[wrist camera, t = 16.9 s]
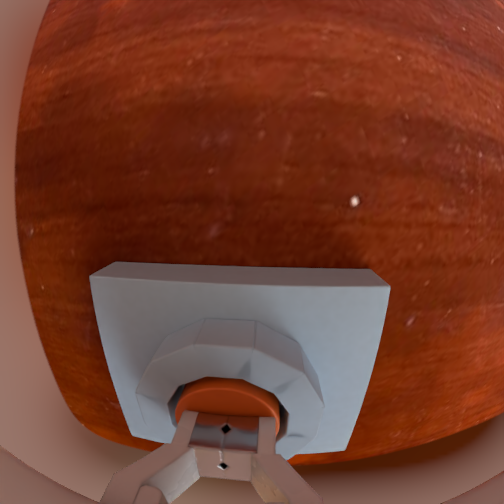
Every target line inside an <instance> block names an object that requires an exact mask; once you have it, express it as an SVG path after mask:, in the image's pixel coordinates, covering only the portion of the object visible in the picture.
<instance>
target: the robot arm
mask: <svg viewBox="0 0 504 504" xmlns="http://www.w3.org/2000/svg"><path fill="white" fill-rule="evenodd" d="M199 476H202V477H211V478H222V479H232V480H243V481H251V483H252V485H253V486H254V488H255V489H256V491H257V492H258V494H259V495H260V497H261V498H262V500H263V501H264V502H265V504H323V499H322V498H321V497H320V496H319V495H318V494H317V493H316V492H315V491H314V490H313V489H312V488H311V487H310V486H309V485H308V484H307V483H306V481H305V480H304V479H303V478H302V477H301V476H300V475H299V474H298V473H297V472H296V471H295V470H294V469H293V468H292V467H291V465H290V464H289V463H288V462H287V461H286V460H285V459H284V458H283V457H282V455H281V454H276V429H275V417H255V416H234V415H220V414H212V413H204V412H196V411H190V410H184V412H183V413H182V415H181V418H180V420H179V423H178V426H177V428H176V431H175V434H174V436H173V439H172V442H171V444H170V443H166V444H164V445H162V446H161V447H159V448H158V449H156V450H154V451H153V452H151V453H149V454H148V455H146V456H145V457H143V458H141V459H139V460H138V461H136V462H134V463H132V464H131V465H129V466H127V467H125V468H124V469H122V470H120V471H118V472H116V473H114V474H113V476H112V478H111V480H110V482H109V484H108V486H107V488H106V490H105V492H104V494H103V496H102V498H101V500H100V502H96V501H94V500H91V499H89V498H87V497H85V496H83V495H81V494H78V493H76V492H74V491H72V490H70V489H68V488H66V487H64V486H63V485H61V484H59V483H57V482H55V481H53V480H52V479H50V478H48V477H46V476H44V475H43V474H41V473H40V472H38V471H36V470H35V469H33V468H32V467H30V466H28V465H27V464H25V463H24V462H22V461H21V460H19V459H18V458H17V457H15V456H14V455H12V454H11V453H10V452H8V451H7V450H6V449H4V448H3V447H2V446H0V504H170V503H171V502H172V501H173V500H175V499H176V498H177V497H178V496H179V495H180V494H182V493H183V492H184V491H185V490H186V489H187V488H189V487H190V486H191V485H192V484H193V483H194V482H195V481H196V480H198V479H199V478H200V477H199ZM441 504H504V471H503V472H501V473H499V474H498V475H496V476H494V477H493V478H491V479H489V480H488V481H486V482H484V483H482V484H480V485H479V486H477V487H475V488H473V489H471V490H469V491H467V492H465V493H463V494H461V495H459V496H457V497H455V498H452V499H450V500H448V501H446V502H443V503H441Z"/></svg>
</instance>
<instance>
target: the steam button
mask: <svg viewBox="0 0 504 504" xmlns="http://www.w3.org/2000/svg"><path fill="white" fill-rule="evenodd" d="M184 410H190V411H196V412H204V413H212V414H220V415H234V416H255V417H275V429H276V436H277V434H278V432H279V428H280V415H279V400H278V398H277V397H276V396H275V394H274V393H272V392H269V391H267V390H265V389H263V388H260V387H258V386H256V385H254V384H252V383H250V382H247V381H245V380H243V379H235V378H220V377H209V376H206V377H203V378H201V379H198V380H195V381H192V382H189V383H186V384H185V386H184V388H183V391H182V393H181V396H180V398H179V401H178V403H177V406H176V409H175V418H176V422H177V424H178V423H179V420H180V418H181V415H182V413H183V412H184Z"/></svg>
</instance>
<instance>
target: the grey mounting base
mask: <svg viewBox="0 0 504 504" xmlns="http://www.w3.org/2000/svg"><path fill="white" fill-rule="evenodd" d="M89 278H90V285H91V291H92V297H93V303H94V308H95V314H96V319H97V323H98V328H99V332H100V337H101V341H102V345H103V349H104V353H105V357H106V360H107V364H108V368H109V371H110V375H111V378H112V381H113V384H114V388H115V391H116V394H117V397H118V400H119V403H120V405H121V408H122V411H123V414H124V416H125V419H126V422H127V424H128V427H129V429H130V432H131V434H132V436H135V437H139V438H144V439H148V440H152V441H157V442H161V443H165V444H166V443H170V444H171V442H172V439H173V436H174V434H175V431H176V428H177V426H178V424H177V422H176V418H175V409H176V406H177V403H178V401H179V398H180V396H181V393H182V391H183V388H184V386H185V384H186V383H189V382H192V381H195V380H198V379H201V378H203V377H206V376H209V377H220V378H235V379H243V380H245V381H247V382H250V383H252V384H254V385H256V386H258V387H260V388H263V389H265V390H267V391H269V392H272V393H274V394H275V396H276V397H277V398H278V400H279V415H280V428H279V432H278V434H277V436H276V454H281V455H282V457H283V458H284V459H285V460H288V459H289V458H291V457H293V456H294V455H295V454H308V453H323V452H335V451H344V450H345V449H346V446H347V444H348V441H349V439H350V436H351V434H352V431H353V428H354V426H355V423H356V420H357V417H358V415H359V412H360V409H361V406H362V403H363V400H364V397H365V393H366V390H367V387H368V384H369V380H370V377H371V373H372V370H373V366H374V362H375V358H376V355H377V351H378V347H379V342H380V338H381V334H382V329H383V325H384V320H385V315H386V310H387V304H388V299H389V293H390V285H388V284H387V283H386V282H385V281H384V280H383V279H381V278H380V277H379V276H378V275H377V274H376V273H374V272H373V271H372V270H371V269H335V268H285V267H246V266H214V265H185V264H160V263H136V262H114V263H112V264H110V265H108V266H106V267H104V268H103V269H101V270H99V271H97V272H95V273H93V274H92V275H90V276H89Z"/></svg>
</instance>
